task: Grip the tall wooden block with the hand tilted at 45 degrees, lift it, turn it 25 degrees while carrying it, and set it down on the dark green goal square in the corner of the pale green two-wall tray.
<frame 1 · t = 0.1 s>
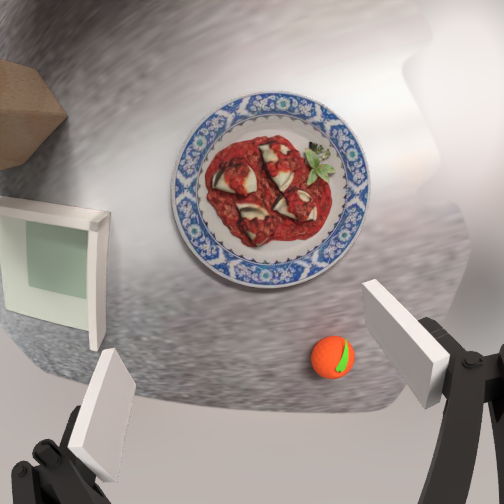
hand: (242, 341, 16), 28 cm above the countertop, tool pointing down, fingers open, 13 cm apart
corner arena: (46, 269, 41), on the countertop
ceramic plate: (273, 190, 42), on the countertop
clementine: (327, 341, 51), on the countertop
wooden block: (29, 116, 34), on the countertop
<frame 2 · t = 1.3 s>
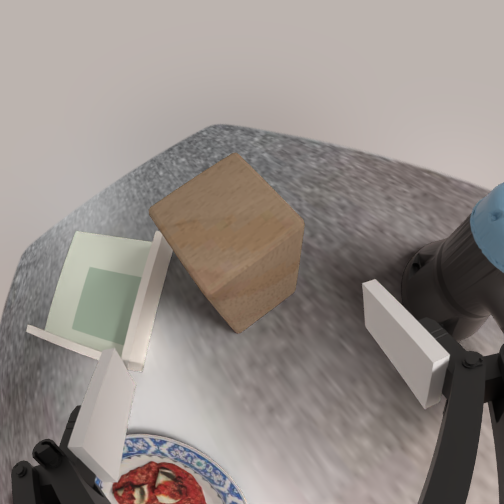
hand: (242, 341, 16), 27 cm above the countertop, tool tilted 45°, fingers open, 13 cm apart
corner arena: (101, 290, 47), on the countertop
wooden block: (245, 286, 45), on the countertop
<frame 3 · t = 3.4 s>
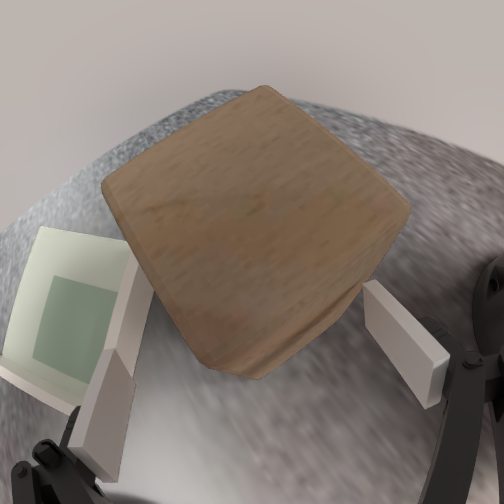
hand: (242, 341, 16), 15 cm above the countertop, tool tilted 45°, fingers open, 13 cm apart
corner arena: (68, 308, 32), on the countertop
wooden block: (268, 309, 31), on the countertop
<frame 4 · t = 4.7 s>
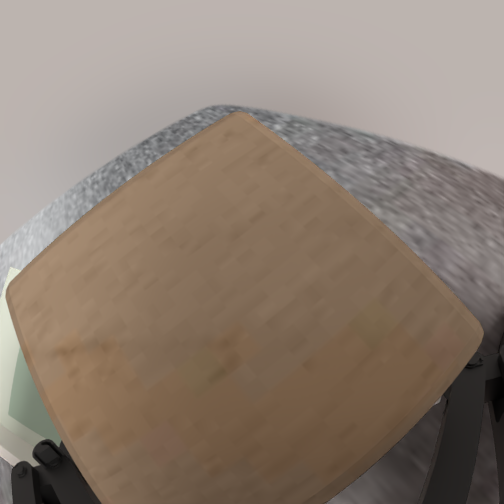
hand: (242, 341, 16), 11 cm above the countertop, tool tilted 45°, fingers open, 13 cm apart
corner arena: (41, 365, 26), on the countertop
wooden block: (264, 376, 25), on the countertop, touching gripper
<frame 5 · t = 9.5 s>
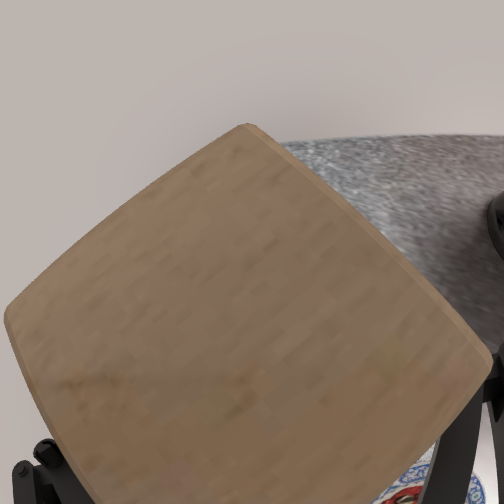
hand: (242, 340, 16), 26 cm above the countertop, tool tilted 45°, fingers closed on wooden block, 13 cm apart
wooden block: (263, 380, 25), point 15 cm above the countertop, touching gripper
when the fingers open (13 cm above the countertop, at t = 13.9 s): wooden block drops 1 cm, resting on corner arena.
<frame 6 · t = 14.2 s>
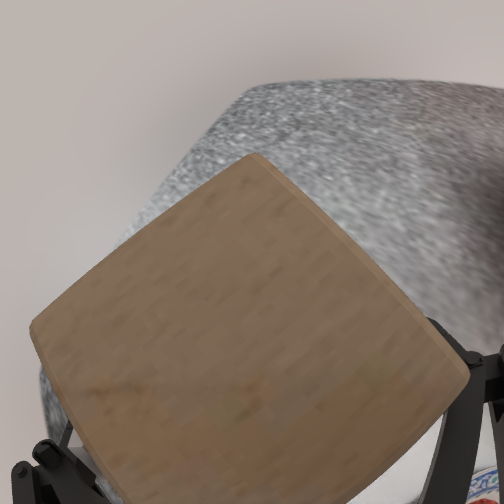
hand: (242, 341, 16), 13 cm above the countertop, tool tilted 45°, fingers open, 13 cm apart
wooden block: (265, 380, 26), point 1 cm above the countertop, touching corner arena, gripper
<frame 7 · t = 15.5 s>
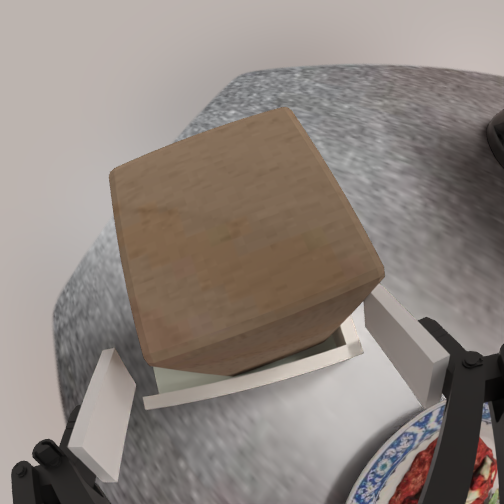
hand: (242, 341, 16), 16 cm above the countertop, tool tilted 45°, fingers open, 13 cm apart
corner arena: (225, 292, 34), on the countertop
ceramic plate: (446, 499, 22), on the countertop
wooden block: (260, 313, 32), point 1 cm above the countertop, touching corner arena, gripper
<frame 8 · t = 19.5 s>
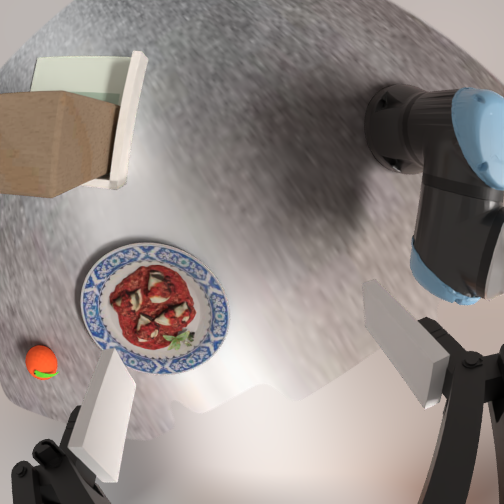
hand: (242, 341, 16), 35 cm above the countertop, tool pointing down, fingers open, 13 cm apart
corner arena: (74, 112, 40), on the countertop
ceramic plate: (154, 310, 54), on the countertop
clementine: (50, 352, 54), on the countertop
wooden block: (87, 136, 42), point 1 cm above the countertop, touching corner arena
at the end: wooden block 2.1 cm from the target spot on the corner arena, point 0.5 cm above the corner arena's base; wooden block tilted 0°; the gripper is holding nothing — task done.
